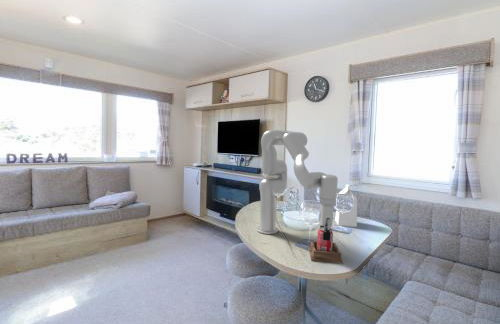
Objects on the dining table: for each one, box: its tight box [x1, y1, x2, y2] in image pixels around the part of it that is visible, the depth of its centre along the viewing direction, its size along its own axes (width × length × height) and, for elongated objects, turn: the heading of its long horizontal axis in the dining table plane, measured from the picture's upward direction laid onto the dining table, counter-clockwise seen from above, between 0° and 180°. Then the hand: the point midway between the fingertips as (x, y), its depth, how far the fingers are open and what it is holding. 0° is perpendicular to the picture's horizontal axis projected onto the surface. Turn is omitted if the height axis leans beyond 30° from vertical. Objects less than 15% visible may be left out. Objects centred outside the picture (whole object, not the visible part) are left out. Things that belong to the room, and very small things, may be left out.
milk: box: [334, 183, 358, 228], centre depth 173 cm, size 12×12×26 cm
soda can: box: [316, 226, 334, 252], centre depth 124 cm, size 7×7×12 cm
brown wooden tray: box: [308, 240, 344, 264], centre depth 124 cm, size 14×14×4 cm
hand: (324, 236), depth 124 cm, fingers open, 9 cm apart
